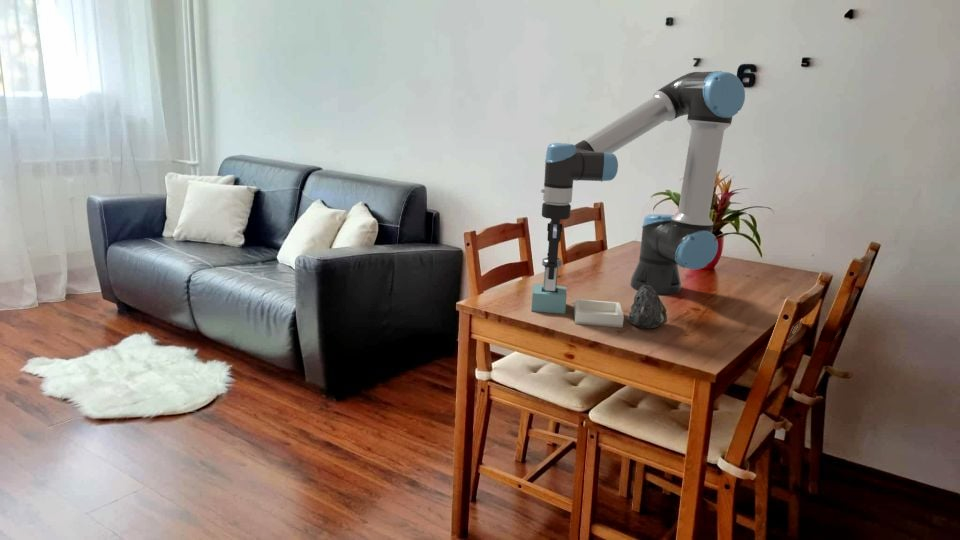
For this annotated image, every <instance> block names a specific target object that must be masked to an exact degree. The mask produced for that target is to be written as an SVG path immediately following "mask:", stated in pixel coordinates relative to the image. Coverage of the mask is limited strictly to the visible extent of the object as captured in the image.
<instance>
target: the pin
mask: <svg viewBox="0 0 960 540" xmlns="http://www.w3.org/2000/svg"><path fill="white" fill-rule="evenodd" d="M547 263H548V258H547V257H543V258H542V262H541V264H542V266H543V267H544V266H545V265H547ZM562 263H563V260H562V259H560V258H559V259H557V272H556V284H555V291H547V290H545V281H546V269H547V267H544V271H543V272H544V273H543V284H542V285H543V292H554V293H556V289H557V286H558V275H559V268H561V267H562Z"/></svg>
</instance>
